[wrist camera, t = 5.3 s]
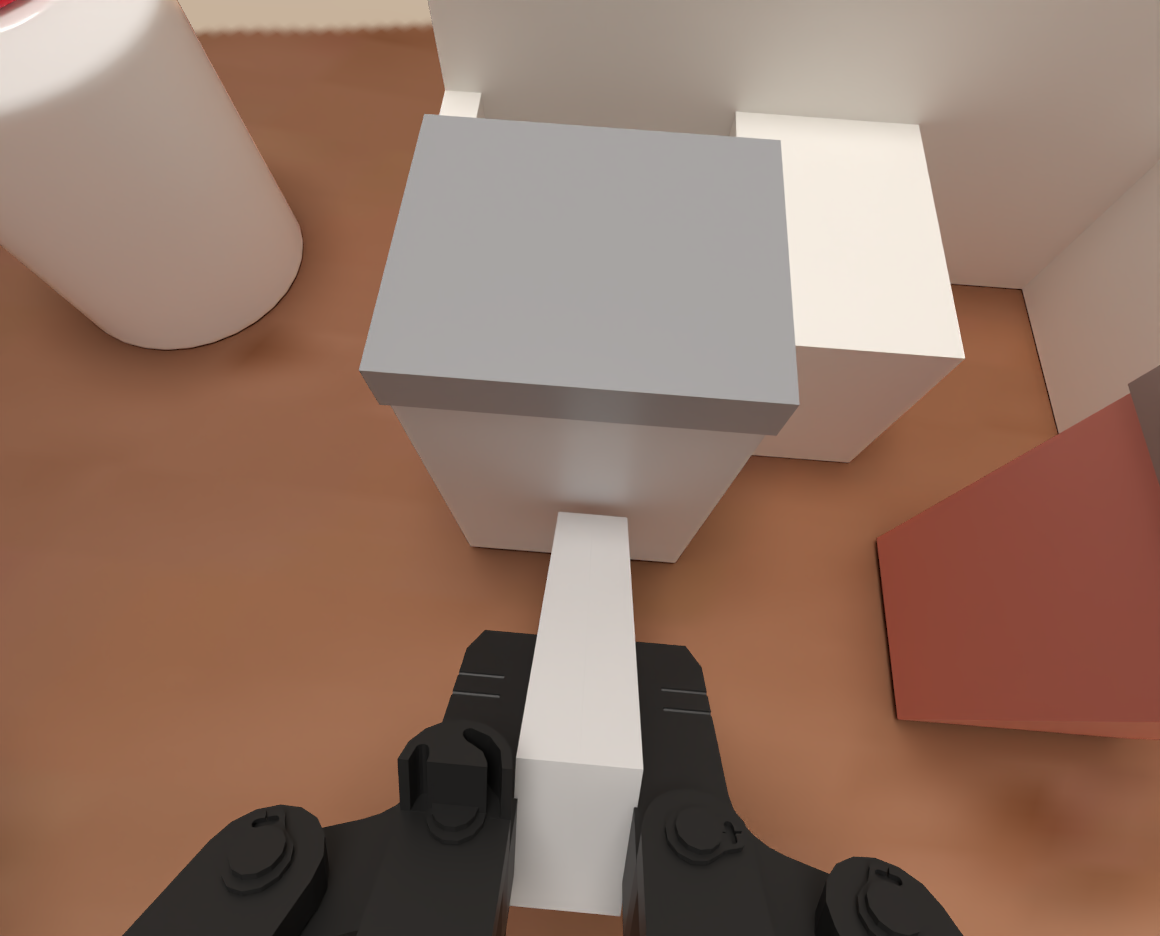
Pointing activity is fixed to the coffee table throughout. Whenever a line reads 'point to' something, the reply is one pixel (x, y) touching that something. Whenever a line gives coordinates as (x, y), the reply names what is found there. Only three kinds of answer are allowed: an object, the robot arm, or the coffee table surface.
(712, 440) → the grey capped white pillar
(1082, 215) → the rack
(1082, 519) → the capped red pillar
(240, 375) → the coffee table surface
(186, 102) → the pill bottle
